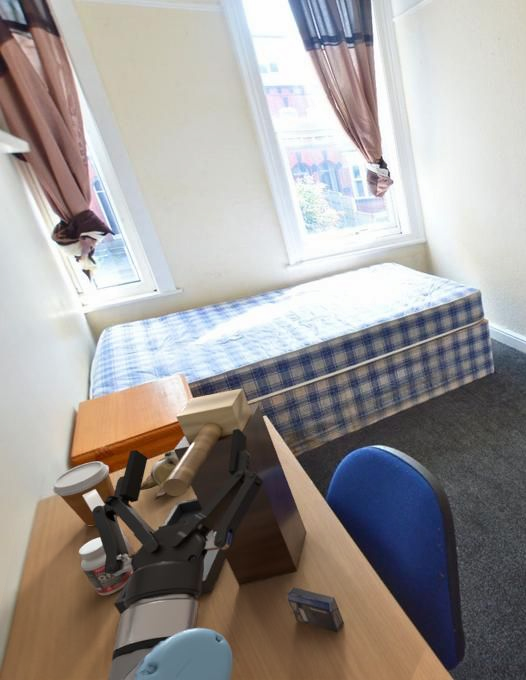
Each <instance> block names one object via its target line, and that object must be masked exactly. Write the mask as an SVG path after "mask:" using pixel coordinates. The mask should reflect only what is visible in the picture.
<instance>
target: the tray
mask: <svg viewBox="0 0 526 680" xmlns="http://www.w3.org/2000/svg"><path fill="white" fill-rule="evenodd" d="M202 510H203V509H202V507H201V505H200V503H199V501H198V499H197V497H195V498H193V499H187V500H184V501H179V502H176V503H175V505H174V506H173V508H172V510H171V511H170V513H169V515H168V516H167V518H166V519H165V521H164V522H163V524H162V526H164V525H173V524H176V523H178V522H181V521H186V522H189V521H190V520H191V519H192V517H193V516H194V515H196V514H198V513H200V512H201V511H202ZM201 527H202V524H200V525H199V526H198V528H199V529H200V528H201ZM213 533H214V532H213V530H211V531H210V533H209V534H208V535H207V536H206V539H207V540H210V539H211V538H212V534H213ZM226 560H227V559H226V557H225V555H224V553H223V551H222V549H218V550H210V551H208V552H207V554H206V556H205V558H204V574H203V581H202V589H201V595H200V596H203V595H208V594H211V593H213V590H214V588H215V585H216V583H217V581H218V578H219V575H220V573H221V571H222V569H223V566H224V563H225V561H226ZM128 581H129V580H128ZM127 586H128V582H127V583H126V585H125V586H124V587H123V588H122V589H121V591H120V593H119V594H118V596H117V597H116V599H115V601H114V602H113V605H114V607H115V608H116V610H117V611H118V612H119V615H121V614H122V613H123V612H124V611H125V610H127V608H126V606H125V605H124V600H125V595H126V591H127Z"/></svg>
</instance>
